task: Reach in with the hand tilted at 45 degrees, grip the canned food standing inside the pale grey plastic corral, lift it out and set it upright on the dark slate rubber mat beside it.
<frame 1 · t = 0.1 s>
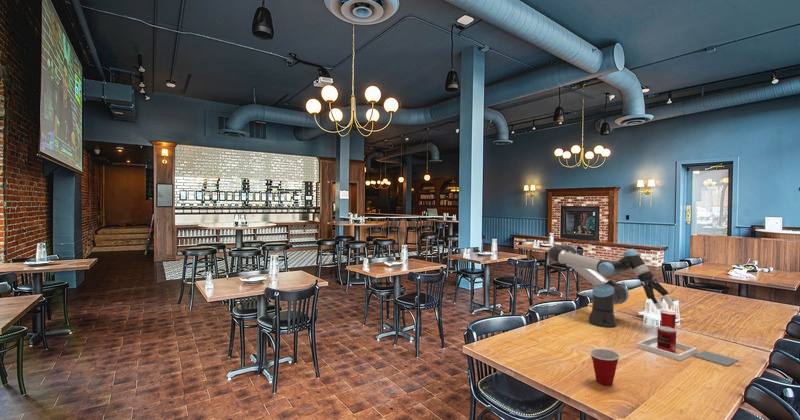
hand: (666, 307, 213), 15 cm above the table, tool tilted 35°, fingers open, 13 cm apart
corral: (666, 350, 188), on the table
paper cup: (667, 335, 212), on the table
mat: (715, 358, 178), on the table
canned food: (666, 350, 188), resting in corral
plastic cup: (603, 383, 151), on the table
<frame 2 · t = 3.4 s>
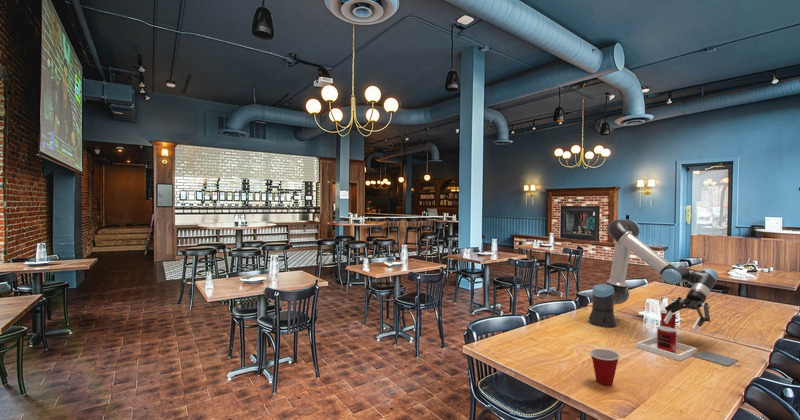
hand: (679, 326, 190), 12 cm above the table, tool tilted 45°, fingers open, 13 cm apart
nothing on the table moved.
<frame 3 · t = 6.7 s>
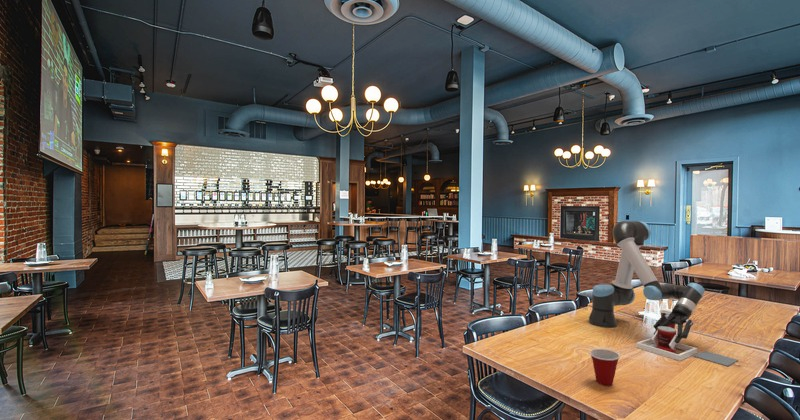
hand: (662, 343, 187), 4 cm above the table, tool tilted 45°, fingers closed on canned food, 8 cm apart
canned food: (666, 350, 188), resting in corral, touching gripper
everything else where it was.
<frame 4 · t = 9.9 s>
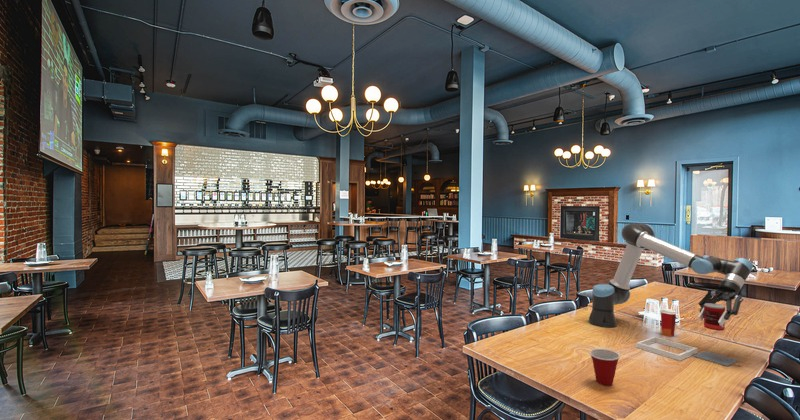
hand: (709, 321, 177), 18 cm above the table, tool tilted 45°, fingers closed on canned food, 8 cm apart
canned food: (714, 328, 178), point 14 cm above the table, touching gripper
everything else where it was.
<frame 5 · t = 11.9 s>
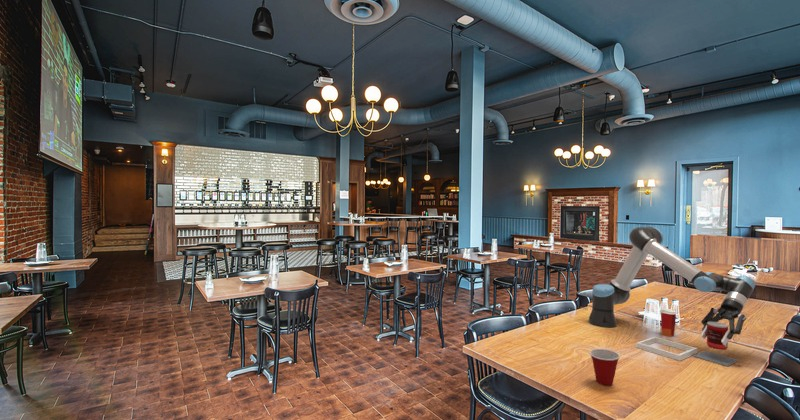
hand: (712, 340, 177), 9 cm above the table, tool tilted 45°, fingers closed on canned food, 8 cm apart
canned food: (716, 347, 178), point 6 cm above the table, touching gripper
everything else where it was.
when the fingers open (5 cm above the table, at t = 13.3 s): canned food drops 1 cm, resting on mat.
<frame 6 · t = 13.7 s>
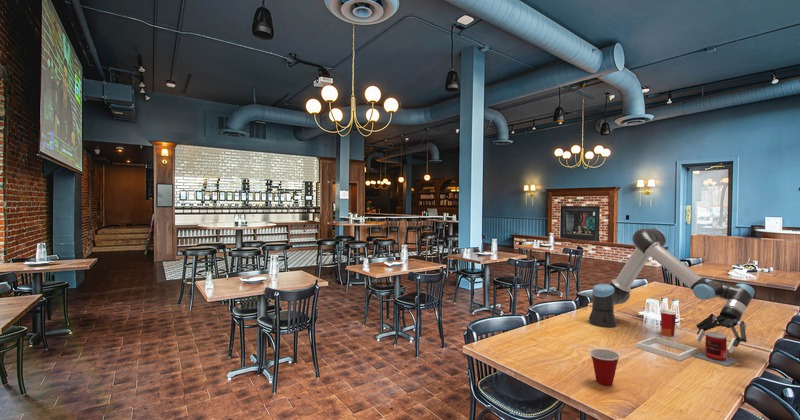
hand: (712, 345, 177), 6 cm above the table, tool tilted 45°, fingers open, 12 cm apart
canned food: (715, 358, 178), resting on mat
everything else where it was.
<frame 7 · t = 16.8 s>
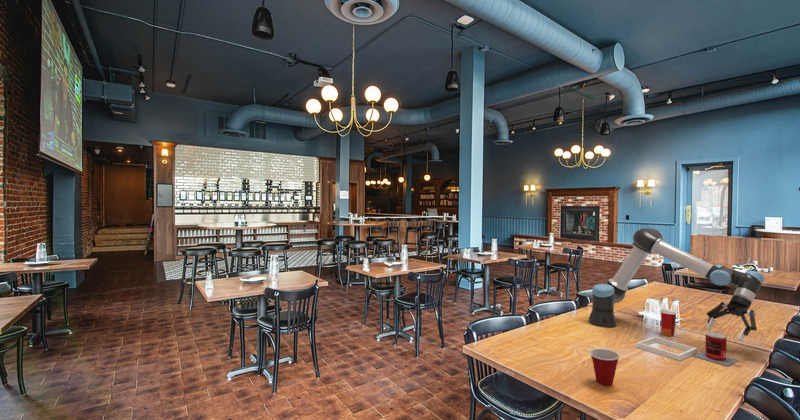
hand: (723, 334, 185), 9 cm above the table, tool tilted 35°, fingers open, 13 cm apart
nothing on the table moved.
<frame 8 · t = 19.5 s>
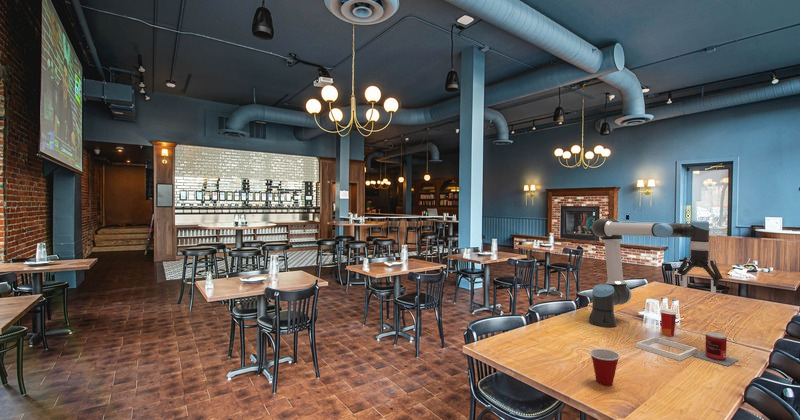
hand: (698, 289, 198), 29 cm above the table, tool pointing down, fingers open, 13 cm apart
nothing on the table moved.
at the end: canned food inside the target area on the mat (0.1 cm from its centre), point 0.3 cm above the mat's base; canned food tilted 0°; the gripper is holding nothing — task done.
